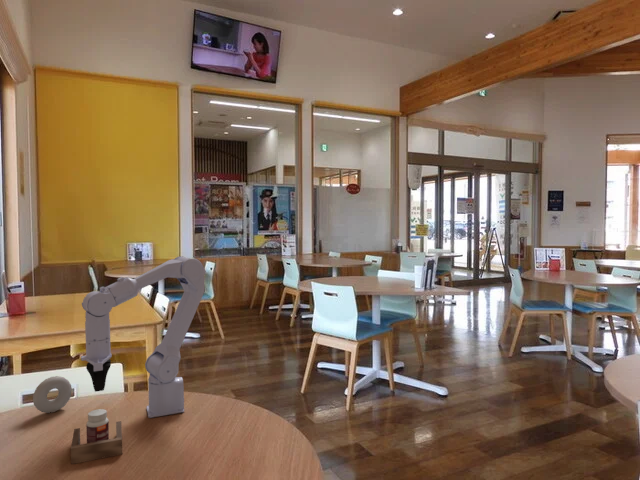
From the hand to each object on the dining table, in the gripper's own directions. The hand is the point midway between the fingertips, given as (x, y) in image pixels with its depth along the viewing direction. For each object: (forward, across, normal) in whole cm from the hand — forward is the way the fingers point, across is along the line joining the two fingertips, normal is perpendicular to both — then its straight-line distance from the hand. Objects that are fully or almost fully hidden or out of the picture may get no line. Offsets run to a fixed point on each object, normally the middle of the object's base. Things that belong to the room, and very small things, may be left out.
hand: (99, 390), depth 118 cm
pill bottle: (+10, +11, 0) cm, 15 cm away
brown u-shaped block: (+10, +12, 0) cm, 15 cm away
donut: (+10, -16, -12) cm, 23 cm away
